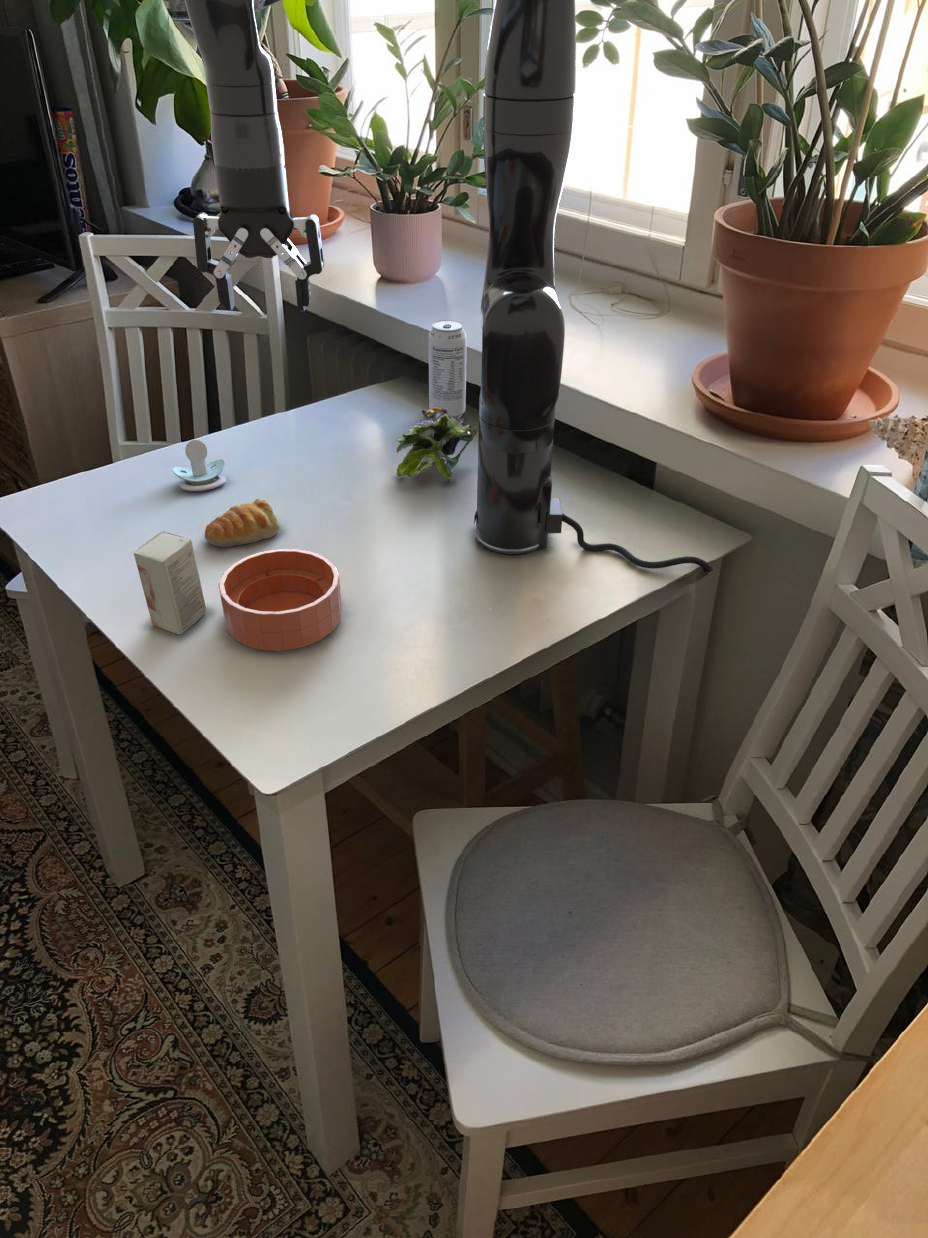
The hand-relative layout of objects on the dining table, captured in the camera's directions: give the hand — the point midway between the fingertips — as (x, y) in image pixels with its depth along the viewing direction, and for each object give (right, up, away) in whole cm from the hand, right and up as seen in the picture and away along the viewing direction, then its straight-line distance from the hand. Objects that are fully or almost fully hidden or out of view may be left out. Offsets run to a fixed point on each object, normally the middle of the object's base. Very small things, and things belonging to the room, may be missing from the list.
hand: (266, 308), depth 110 cm
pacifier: (-14, -17, +24) cm, 33 cm away
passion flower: (+20, -15, +27) cm, 37 cm away
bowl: (+3, -37, -3) cm, 37 cm away
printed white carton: (-9, -37, -3) cm, 38 cm away
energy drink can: (+21, -3, +44) cm, 49 cm away
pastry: (-5, -26, +13) cm, 29 cm away
